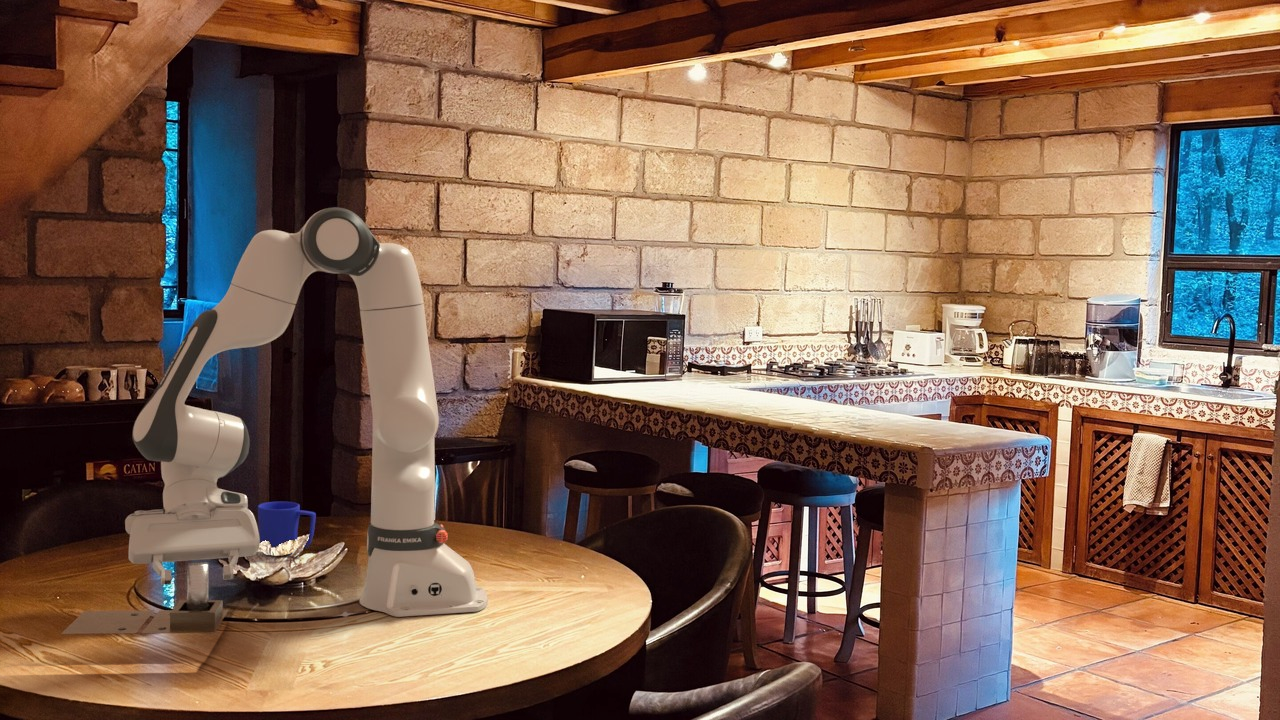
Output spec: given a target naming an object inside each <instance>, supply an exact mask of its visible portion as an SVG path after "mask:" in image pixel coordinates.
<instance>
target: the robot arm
mask: <svg viewBox="0 0 1280 720" xmlns="http://www.w3.org/2000/svg"><path fill="white" fill-rule="evenodd" d="M316 272H317V273H318V272H320V273H321V272H322V273H329V274H343V275H344V274H345V275H348V276H349V277H350V278H352V280H353V282H354V284H355V286H356V290H357V295H358V303H359V315H360V321H361V329H362V336H363V338H362V339H363V346H364V353H365V362H366V370H367V379H368V387H369V395H370V403H371V411H372V412H371V413H372V441H371V443H372V446H371V447H372V448H371V449H372V450H371V451H372V452H371V453H372V455H371V498H370V500H371V501H370V503H371V504H370V505H371V506H370V522H369V524H368V528H367V531H366V532H367V536H366V538H367V539H366V551H367V555H368V560H367V561H368V562H367V568H366V575H365V578H364V585H363V587H362V588H363V589H362V592H361V595H360V598H359V604H360V605H361V606H363V607H365V608H367V609H369V610H373V611H377V612H383V613H386V614H387V615H388V616H392V617H396V618H397V617H398V618H399V617H414V616H429V615H444V614H446V615H447V614H457V613H475V612H480V611H482V610H483V609H485V607H486V606H487V605H488V594H487V591H486V590H485V589H484V588H482V587H480V586H477V583H476V578H475V573H474V570H473V568H472V565H471V563H470V562H469V561H468V560H466V559H465V558H463V556H462V555H460V554H458V553H457V552H456V551H454V550H453V549H452V548H451V547H450V546H448V545H447V544H446V542H447V541H448V535H449V534H448V532H447V531H446V528H445V527H444V525H443V524H442V523H441V524H438V523H437V522H435V496H436V493H435V492H436V473H435V472H436V471H435V469H436V468H435V467H436V466H435V465H436V461H435V459H436V458H435V457H436V454H435V448H436V447H435V436H436V434H437V432H438V429H439V423H440V416H439V408H438V402H437V393H436V387H435V379H434V371H433V366H432V365H433V364H432V358H431V352H430V346H429V345H430V343H429V337H428V329H427V319H426V318H427V317H426V311H425V310H426V309H425V302H424V294H423V288H422V282H421V279H420V275H419V272H418V267H417V264H416V262H415V258H414V256H413V254H412V252H411V251H410V250H409V249H408V248H407V247H405V246H403V245H402V244H398V243H392V242H379V241H378V240H377V238H376V237H375V235H374V233H372V232H371V230H370V228H369V227H368V225H367V224H366V223H365V221H364V220H363V219H362V218H361V217H360V216H359V215H357V213H355V212H353V211H352V210H349V209H347V208H343V207H337V206H335V207H328V208H324V209H321V210H319V211H317V212H315V213H314V214H312V215H311V216H310V217H309V219H308V220H307V221H306V222H305V224H304V225H303V226H302V227H300V228H299V229H298V230H297V231H296V232H295V233H290V232H286V231H282V230H277V229H267V230H262V231H260V232H258V233H256V234H255V235H254V236H253V237H252V238H251V240H250V242H249V243H248V245H247V247H246V248H245V251H244V252H243V253H242V256H241V258H240V260H239V262H238V264H237V267H236V269H235V271H234V274H233V277H232V278H231V282H230V283H231V284H230V285H229V288H228V289H227V291H226V294H225V295H224V297H223V298H222V299H221V300H220V301H219V303H218V304H217V305H215V306H214V307H213V308H212V309H209V310H204V311H202V312H201V313H200V314H199V315H198V316H197V317H196V318H195V320H194V322H193V323H192V325H191V326H190V327H189V329H188V331H187V332H186V334H185V336H184V338H183V339H182V341H181V343H180V344H179V346H178V348H177V350H176V351H175V354H174V355H173V357H172V359H171V361H170V363H169V364H168V366H167V368H166V370H165V372H164V373H163V375H162V377H161V379H160V381H159V382H158V385H157V386H156V388H155V390H154V391H153V393H152V395H151V396H150V397H149V399H148V400H147V401H146V403H145V404H144V406H143V407H142V408H141V410H140V412H139V414H138V415H137V417H136V419H135V421H134V423H133V427H132V432H131V433H132V434H131V436H132V437H131V439H132V441H133V444H134V445H135V448H137V451H138V452H139V453H140V455H142V456H143V457H144V458H145V459H146V460H147V461H152V462H160V471H161V472H160V473H161V478H162V480H163V483H164V487H163V492H162V503H163V508H162V509H151V510H143V509H142V510H136V511H134V512H133V513H131V514H129V515H127V517H126V518H125V520H124V525H125V528H124V529H125V532H126V533H127V534H128V535H129V541H128V560H129V561H130V562H131V563H132V564H134V565H143V564H147V565H148V564H152V569H153V570H154V572H155V573H157V575H158V577H160V584H161V585H162V586H163V585H172V570H171V569H165V567H164V566H163V563H172V562H185V561H187V562H189V561H200V560H214V559H215V560H216V559H227V558H228V562H229V564H228V565H223V566H222V579H223V580H224V581H225V580H227V581H228V580H233V579H234V569H235V567H236V565H237V563H238V561H239V558H241V557H253V556H255V555H256V554H257V552H258V551H259V548H260V535H259V526H258V523H257V521H256V517H255V515H254V513H253V512H252V511H251V510H250V509H249V508H248V506H249V504H248V501H249V500H248V497H247V495H246V494H244V493H240V492H235V491H230V490H226V489H222V488H219V487H218V485H217V482H218V479H220V478H224V477H226V476H227V475H228V474H230V473H232V472H233V471H234V470H235V469H237V468H238V467H239V466H241V465H242V464H243V463H244V462H245V460H246V459H247V457H248V455H249V450H250V442H251V441H250V435H249V430H248V427H247V426H246V424H245V421H244V420H243V419H242V418H241V417H240V416H235V415H234V414H233V415H232V414H228V413H224V412H220V411H215V410H209V409H205V408H204V409H203V408H201V407H195V406H191V405H187V404H186V403H185V402H186V400H187V398H188V396H189V395H190V392H191V391H192V389H193V387H194V385H195V384H196V382H197V380H198V378H199V376H200V374H201V372H202V370H203V369H204V368H205V367H204V366H205V365H206V363H207V362H208V361H209V360H210V359H211V358H213V357H214V356H215V355H218V354H220V353H221V352H224V351H228V350H234V349H235V350H236V349H242V348H243V349H244V348H255V347H259V346H263V345H265V344H269V343H271V342H272V341H274V340H276V339H277V338H279V337H281V336H282V335H283V334H284V333H285V331H286V329H287V328H288V326H289V324H290V323H291V319H292V317H293V314H294V311H295V309H296V304H298V303H297V302H298V299H299V296H300V293H301V290H302V288H303V286H304V284H305V281H306V280H307V279H308V277H309V276H310V275H311V274H313V273H316Z"/></svg>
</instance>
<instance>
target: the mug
mask: <svg viewBox="0 0 1280 720" xmlns="http://www.w3.org/2000/svg"><path fill="white" fill-rule="evenodd" d="M300 508H301V506H300V504H299V503H297V502H292V501H269V502H263V503H260V504H259V505H257V517H258V532H259V538H260V543H261V542H262V541H265V540H266V541H269V542H270V544H271V546H272V547H276V546H278V545H279V544H281V543H284V542H286V541H289V540H295V539H297V540H298V529H299V521H300V517H301V515H302V516H304V515H306V516H310V524H309V525H310V526H309V533H308V537H309V540H308V539H307V540H308V541H306V542H307V543H306V542H305V544H306V545H305V547H304V548H303V549H306V548H308V547H309V546H310V545H311V544H312V541H313V539H314V538H313V537H314V533H315V529H316V527H315V525H316V518H317V514H316V512H314V511H309V510H302V509H301V510H300Z"/></svg>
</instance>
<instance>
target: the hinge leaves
mask: <svg viewBox="0 0 1280 720" xmlns="http://www.w3.org/2000/svg"><path fill="white" fill-rule="evenodd" d="M223 603H224V602H223V600H222V599H219V600H218V599H216V600H213V599H211V600H210V599H208V611H187V600H178V602H177V603H176V605H175V606H174V607H173V608H172V609H170V610H169V609H168V610H167V609H166V610H164V609H163V610H161V609H160V610H158V612H157V613H156V614H155V615H154V617H153V618H152V620H150V621H149V623H148V624H147V625H146V627H144V629H143V630H142V631H141V634H187V633H188V634H205V633H208V634H209V633H211V634H212V633H216V632H217V629H218V628H219V627H220V625H221V623H222V622H223V620H224V618H225V617H226V615H227V614H228V612H229V609H224V608H223V607H224V606H223ZM154 612H155V610H153V609H152V610H145V609H144V610H143V609H142V610H84V611H82V613H80V614H79V615H78V616H77V618H75V620H73V622H71V623H70V625H68V626H67V627H66V628H65V629H64V630H63V631H62V632H61V633H60V635H95V634H96V635H104V634H105V635H107V634H108V635H110V634H111V635H112V634H114V635H115V634H120V635H121V634H124V635H125V634H137V633H138V632H139V630H140V629H141V628H142V626H144V624H145V623H146V622H147V621H148V619H149V618H150V617H151V616H152V615H153V614H154Z"/></svg>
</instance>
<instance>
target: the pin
mask: <svg viewBox="0 0 1280 720" xmlns="http://www.w3.org/2000/svg"><path fill="white" fill-rule="evenodd" d="M209 566H210V564H209V562H207V561H192V562H189V563H187V579H186V580H187V585H186V586H187V587H186V588H187V590H186V591H187V595H186V599H187V600H186V601H187V611H208V600H209V582H210V581H209V580H210V579H209V570H210V568H209Z"/></svg>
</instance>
